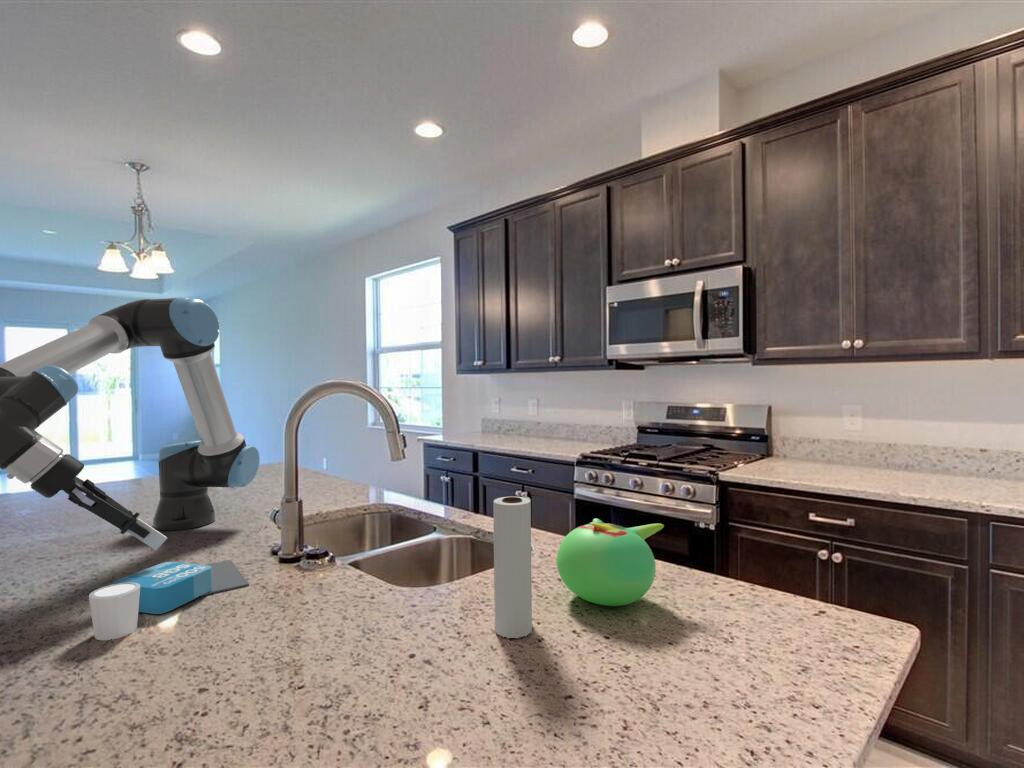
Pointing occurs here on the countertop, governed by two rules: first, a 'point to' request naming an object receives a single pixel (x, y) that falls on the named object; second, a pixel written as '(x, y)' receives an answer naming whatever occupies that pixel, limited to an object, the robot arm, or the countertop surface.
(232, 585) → the mat
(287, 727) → the countertop surface
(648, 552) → the green rounded piece
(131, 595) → the white short cylinder
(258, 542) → the countertop surface
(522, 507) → the paper towel roll
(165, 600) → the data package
